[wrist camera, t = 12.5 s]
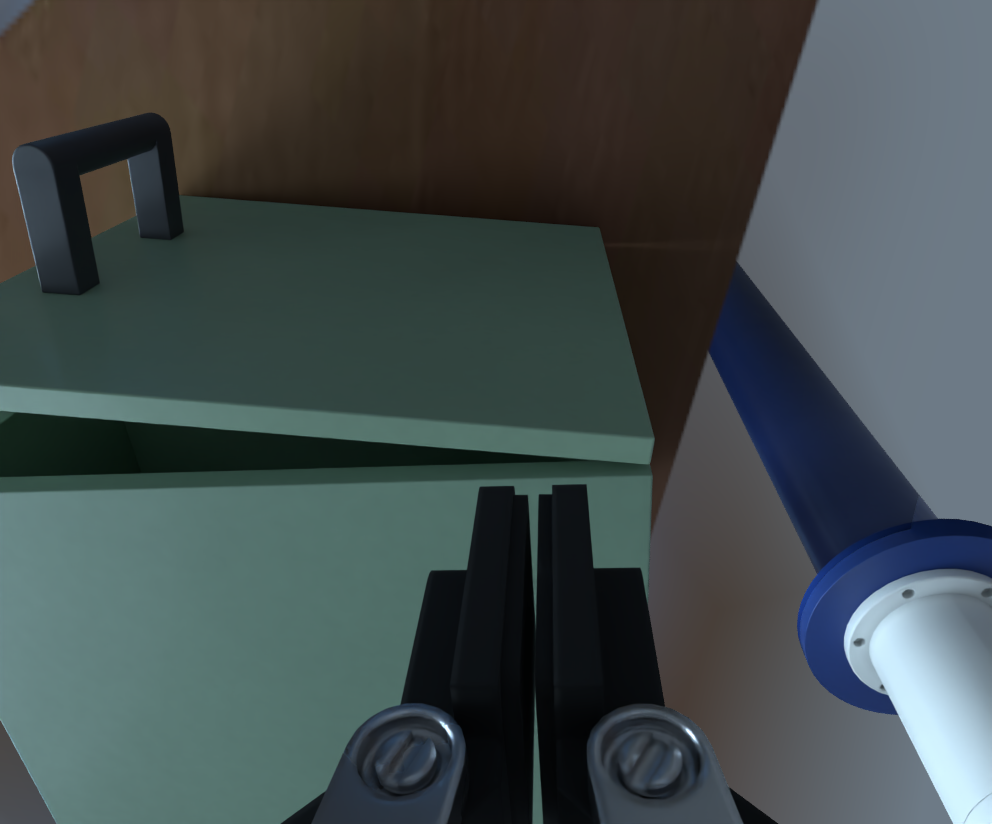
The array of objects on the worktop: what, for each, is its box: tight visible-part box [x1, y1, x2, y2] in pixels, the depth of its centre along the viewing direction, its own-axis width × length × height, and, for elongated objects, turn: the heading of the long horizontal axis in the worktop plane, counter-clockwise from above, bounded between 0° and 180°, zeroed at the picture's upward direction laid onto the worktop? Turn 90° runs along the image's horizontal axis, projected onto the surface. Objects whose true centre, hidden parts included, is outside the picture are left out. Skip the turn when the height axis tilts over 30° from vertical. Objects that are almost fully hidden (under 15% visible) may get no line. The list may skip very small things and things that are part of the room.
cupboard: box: [0, 411, 653, 824], centre depth 40 cm, size 18×26×26 cm
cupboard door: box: [0, 113, 655, 465], centre depth 33 cm, size 7×26×26 cm, turn 86°
